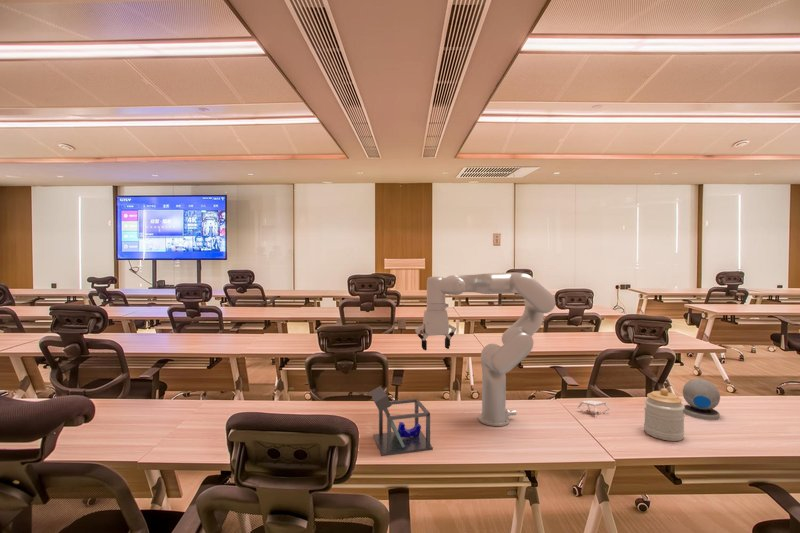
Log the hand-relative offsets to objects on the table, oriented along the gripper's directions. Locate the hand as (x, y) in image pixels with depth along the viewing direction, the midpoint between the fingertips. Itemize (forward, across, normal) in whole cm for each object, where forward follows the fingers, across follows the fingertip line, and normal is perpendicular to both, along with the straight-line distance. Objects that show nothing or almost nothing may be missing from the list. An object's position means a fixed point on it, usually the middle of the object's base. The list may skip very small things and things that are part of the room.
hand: (435, 349), depth 165 cm
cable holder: (+29, +15, +12) cm, 35 cm away
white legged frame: (+31, -70, +8) cm, 77 cm away
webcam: (+31, -114, +20) cm, 120 cm away
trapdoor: (+21, +25, +14) cm, 36 cm away
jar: (+31, -81, +32) cm, 92 cm away
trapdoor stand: (+30, +18, +14) cm, 38 cm away
